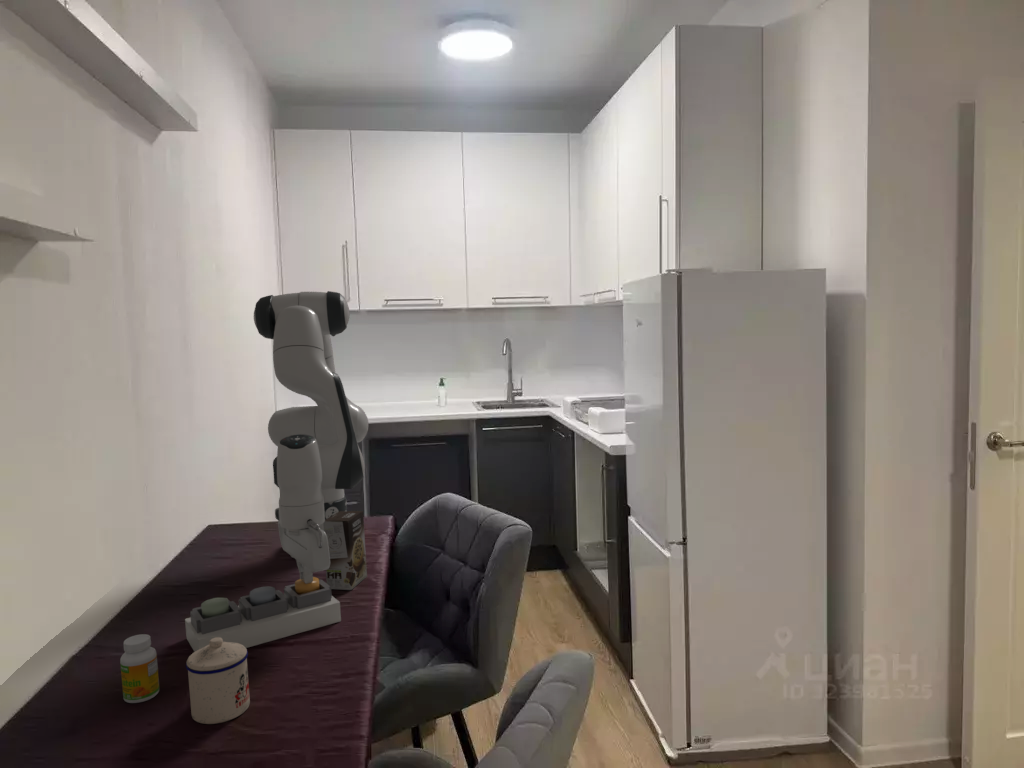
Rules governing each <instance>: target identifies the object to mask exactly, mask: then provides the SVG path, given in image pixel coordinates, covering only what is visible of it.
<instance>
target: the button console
mask: <svg viewBox="0 0 1024 768" xmlns="http://www.w3.org/2000/svg"><path fill="white" fill-rule="evenodd" d="M319 588H320V590H317V591H313V592H309V593H305V594H301V595H298V594H297V593H296V592H295V583H293V584H289V585H284V588H283V592H282V591H281V590H280V589H275V594H276V600H275V601H273V602H269V603H265V604H261V605H252V604H251V603H250V594H247V595H243V596H240V597H239V599H238V605H237V603H236V602H235V601H234V600H231V601H230V600H229V599H228V604H229V612H228V613H225V614H221V615H217V616H213V617H209V618H206V617H203V616H202V608H201V606H198V607H194V608H191V610H190V611H189V614H190V617H187V618H185V619H184V623H185V624H184V625H185V634H186V635H185V636H186V640H187V642H188V643H189V645H190V647H191V649H192V650H193V653H194V652H195V651H197V650H199V649H201V648H203V647H205V646H207V645H209V641H210V640H211V639H213V638H216V637H220V638H222V639H223V642H233V643H239V644H242V645H243V646H244V647H245V648H246V649H247V648H250V647H254V646H258V645H261V644H265V643H268V642H272V641H276V640H280V639H282V638H283V639H284V638H286V637H290V636H293V635H296V634H297V635H298V634H300V633H304V632H308V631H311V630H315V629H319V628H322V627H325V626H329V625H332V624H335V623H340V622H341V621H342V617H341V616H342V615H341V614H342V613H341V601H339V599H337V598H335V597H334V596H333V595H332V589H331V586H329V585H328V584H327V582H326V581H324V580H323V579H319Z"/></svg>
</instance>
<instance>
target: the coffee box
mask: <svg viewBox="0 0 1024 768" xmlns="http://www.w3.org/2000/svg"><path fill="white" fill-rule="evenodd" d="M364 517H365V516H364V511H363V510H346V511H339V512H337V513H336V514H334V515H332V516H331V517H329V518H327V519H326V520H325V522H324V523H323V526H324V532H325V533H326V535H327V539H328V546H329V554H330V567H329V569H327V570H325V579H326V583H327V584H328V585H329V586H331V590H341V591H342V590H343V591H352V590H354V588H356V587H357V586H358V585H359V584H360V583H362V581H363V580H365V579H366V578H367V577H368V573H367V572H368V571H367V570H368V569H367V554H366V553H367V552H366V540H365V539H366V537H365V522H364V519H365V518H364Z"/></svg>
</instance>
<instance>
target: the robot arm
mask: <svg viewBox="0 0 1024 768" xmlns="http://www.w3.org/2000/svg"><path fill="white" fill-rule="evenodd" d="M254 306H255V307H254V311H253V321H254V325H255V328H256V329H257V332H258V334H259V335H260V336H262V337H263V338H264V339H269V340H273V341H272V342H273V343H272V360H273V361H272V362H273V368H274V375H275V377H276V379H277V381H278V382H279V383H280V384H281V385H282V386H283V387H285V388H286V389H287V390H289V391H292V392H293V393H295V394H298V395H301V396H305V397H308V398H310V399H311V400H313V402H315V405H310V406H309V405H308V406H307V405H306V406H291V407H286V408H282V409H279V410H276V411H274V413H273V414H272V415H271V417H270V419H269V421H268V423H267V425H268V426H267V431H268V432H267V433H268V436H269V438H270V440H271V441H272V443H273V444H274V445H275V446H277V454H276V457H275V458H274V459H273V461H272V469H273V484H274V485H276V487H277V488H278V489H279V498H278V507H277V508H275V509H274V517H275V519H276V520H277V526H278V534H279V539H280V540H279V541H280V545H281V547H282V550H283V551H284V552H286V553H287V554H288V555H290V557H291V558H293V559H295V561H296V566H297V568H298V572H299V579H300V580H302V581H303V582H304V583H306V584H308V583H312V582H313V577H314V573H318V572H324V571H326V570H327V569H329V567H330V554H329V546H328V539H327V535H326V533H325V532H324V526H323V523H324V522H325V520H326V519H327V518H329V517H331V516H332V515H334V514H336V513H337V512H339V511H348V510H347V509H348V500H347V496H346V495H345V490H352V489H353V488H355V487H356V486H357V485H358V484H359V483H360V482H361V481H362V480H363V479H364V475H365V469H366V465H365V461H364V460H365V459H364V456H363V453H362V450H361V449H360V446H359V443H361V442H362V441H363V440H364V439H365V437H366V436H367V435H368V431H369V420H368V416H367V414H366V412H365V411H364V409H362V407H360V406H358V405H357V404H356V403H354V402H352V401H351V400H350V399H349V398H348V397H347V396H346V392H345V389H344V385H343V383H342V379H341V377H340V376H339V374H338V373H336V369H335V362H334V352H333V345H332V339H331V337H335V336H336V335H339V334H342V333H343V332H344V331H345V330H346V329H347V327H348V323H349V321H350V308H349V304H348V303H347V300H346V299H345V296H344V295H342V294H341V293H340V292H337V291H329V290H328V291H327V292H323V291H300V292H291V293H284V294H283V293H282V294H279V295H273V294H270V295H269V294H268V295H266V296H263V297H260V298H259V299H258V300H257V301H256V302H255V305H254Z"/></svg>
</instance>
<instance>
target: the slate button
mask: <svg viewBox="0 0 1024 768" xmlns="http://www.w3.org/2000/svg"><path fill="white" fill-rule="evenodd" d="M275 590H276V588H275V587H274V586H261V587H256V588H253V589H251V590H250V591H249V595H250V603H251V604H252V605H261V604H265V603H269V602H273V601H275V600H276V594H275Z"/></svg>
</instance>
